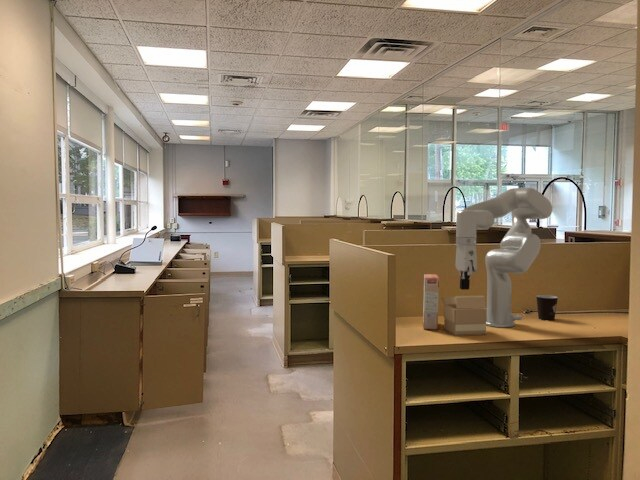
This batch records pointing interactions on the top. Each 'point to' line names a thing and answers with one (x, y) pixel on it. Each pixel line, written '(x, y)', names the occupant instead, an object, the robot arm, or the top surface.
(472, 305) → the near flap
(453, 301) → the far flap
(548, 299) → the coffee mug
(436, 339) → the top surface
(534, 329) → the top surface
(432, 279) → the cracker box
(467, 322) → the carton
